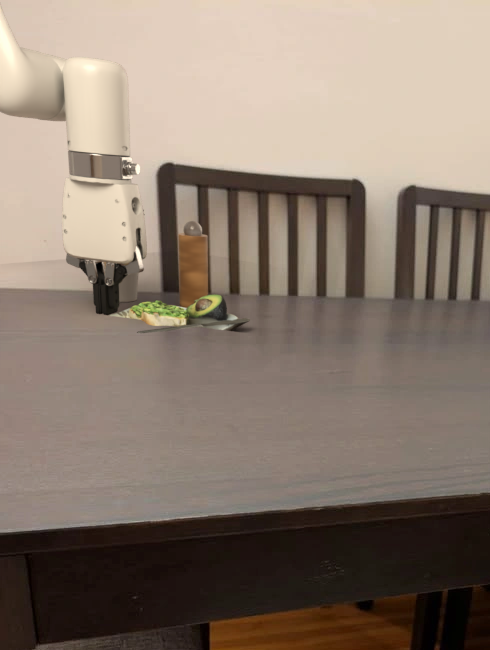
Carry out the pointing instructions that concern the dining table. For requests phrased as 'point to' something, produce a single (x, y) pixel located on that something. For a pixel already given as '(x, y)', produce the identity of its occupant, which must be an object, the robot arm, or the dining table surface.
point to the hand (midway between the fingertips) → (107, 312)
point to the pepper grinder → (192, 264)
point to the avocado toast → (185, 315)
